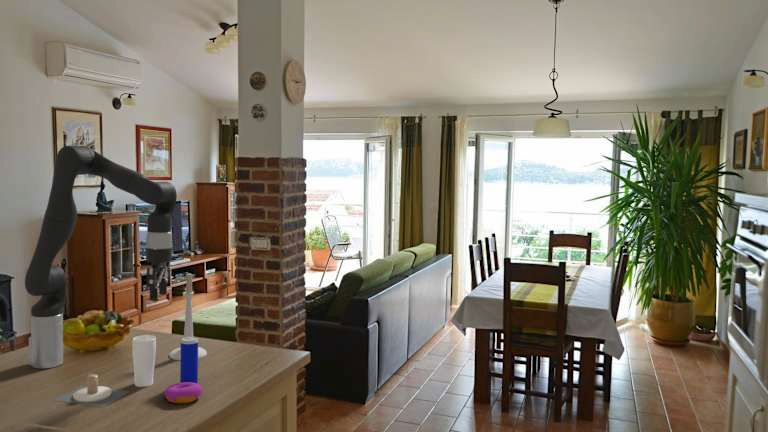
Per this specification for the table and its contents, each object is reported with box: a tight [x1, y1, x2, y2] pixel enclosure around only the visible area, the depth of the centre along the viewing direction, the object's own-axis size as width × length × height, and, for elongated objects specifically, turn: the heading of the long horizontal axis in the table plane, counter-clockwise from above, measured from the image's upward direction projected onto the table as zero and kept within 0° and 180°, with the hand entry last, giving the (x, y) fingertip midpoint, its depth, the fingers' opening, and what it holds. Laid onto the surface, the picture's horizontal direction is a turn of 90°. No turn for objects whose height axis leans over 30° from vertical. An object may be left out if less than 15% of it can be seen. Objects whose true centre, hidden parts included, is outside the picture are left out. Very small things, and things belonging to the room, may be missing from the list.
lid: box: [73, 373, 112, 403], centre depth 174 cm, size 10×10×6 cm
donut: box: [164, 382, 203, 405], centre depth 176 cm, size 10×10×5 cm
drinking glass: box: [131, 334, 157, 388], centre depth 185 cm, size 7×7×15 cm
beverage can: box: [179, 336, 199, 384], centre depth 186 cm, size 5×5×15 cm
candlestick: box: [169, 273, 208, 362], centre depth 215 cm, size 13×13×30 cm
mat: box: [53, 385, 130, 408], centre depth 174 cm, size 16×12×1 cm
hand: (158, 297), depth 187 cm, fingers open, 8 cm apart
